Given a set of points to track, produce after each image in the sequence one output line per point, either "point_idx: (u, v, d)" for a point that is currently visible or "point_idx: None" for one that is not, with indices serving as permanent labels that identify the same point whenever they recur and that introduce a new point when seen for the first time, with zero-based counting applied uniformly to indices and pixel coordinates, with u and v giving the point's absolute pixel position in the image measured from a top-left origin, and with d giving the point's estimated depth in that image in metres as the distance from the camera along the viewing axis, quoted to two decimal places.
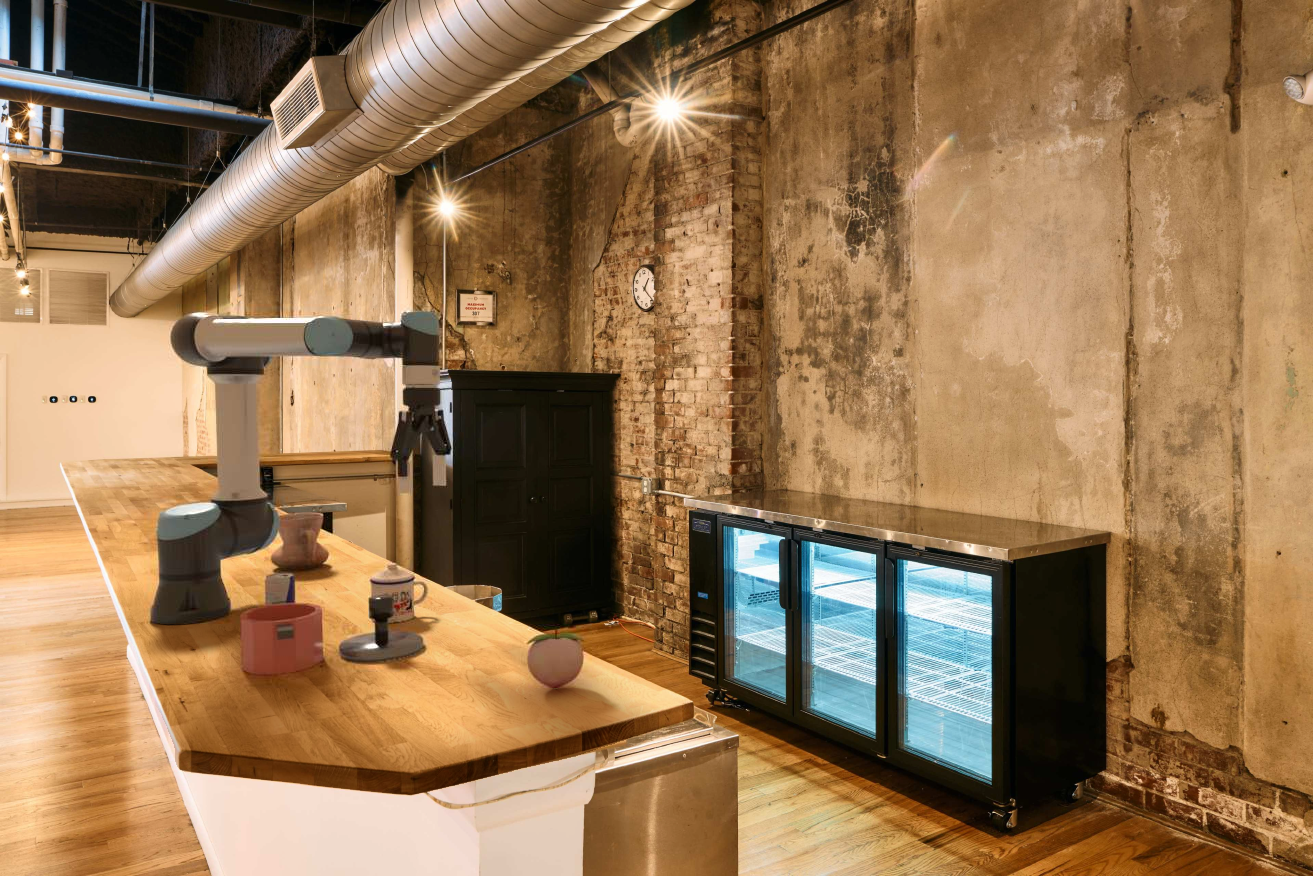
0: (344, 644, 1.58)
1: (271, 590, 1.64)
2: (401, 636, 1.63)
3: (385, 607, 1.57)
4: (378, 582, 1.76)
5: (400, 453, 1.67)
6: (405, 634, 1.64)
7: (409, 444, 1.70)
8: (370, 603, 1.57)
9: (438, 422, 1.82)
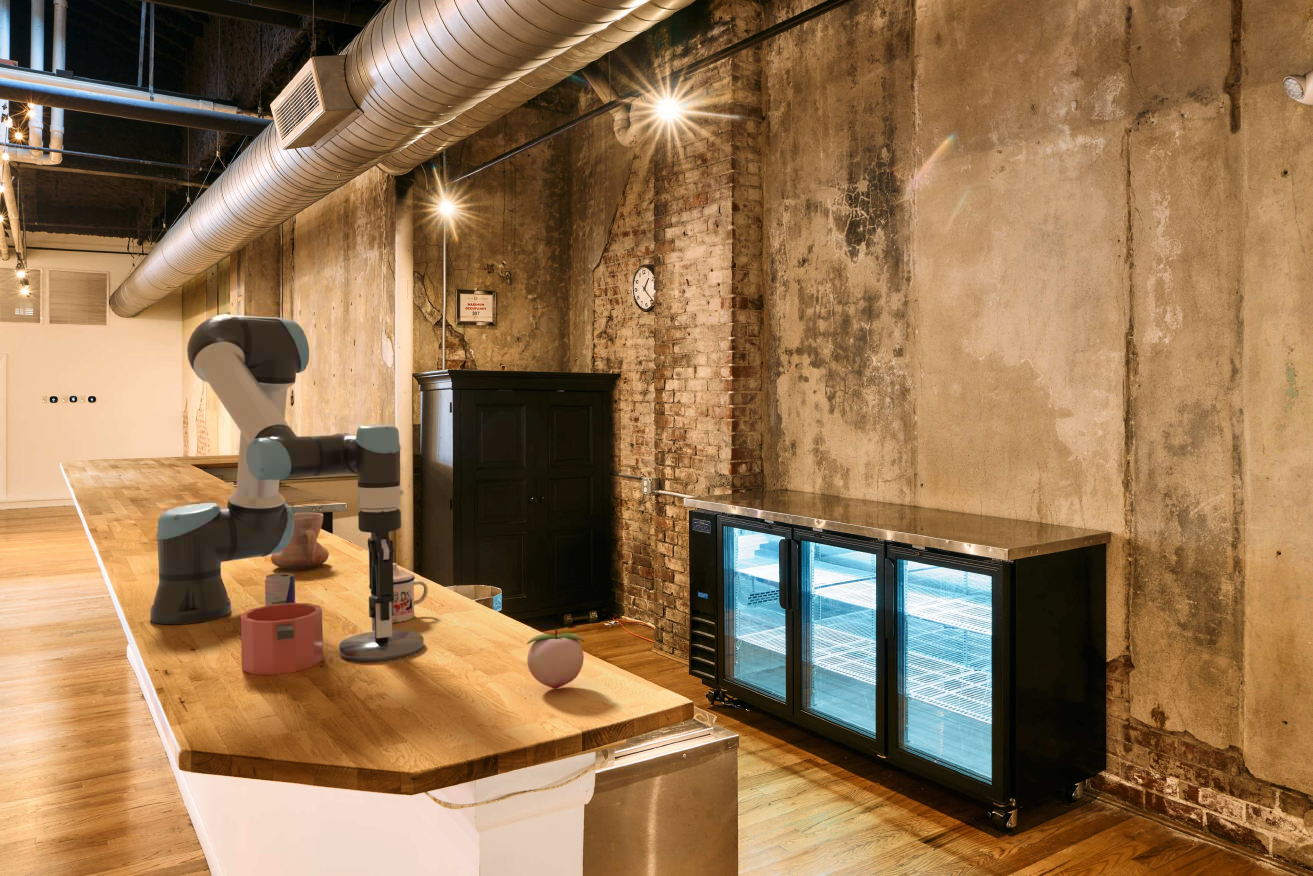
0: (344, 643, 1.58)
1: (271, 590, 1.64)
2: (401, 635, 1.63)
3: None
4: None
5: (392, 597, 1.53)
6: (405, 633, 1.64)
7: None
8: (370, 602, 1.57)
9: None
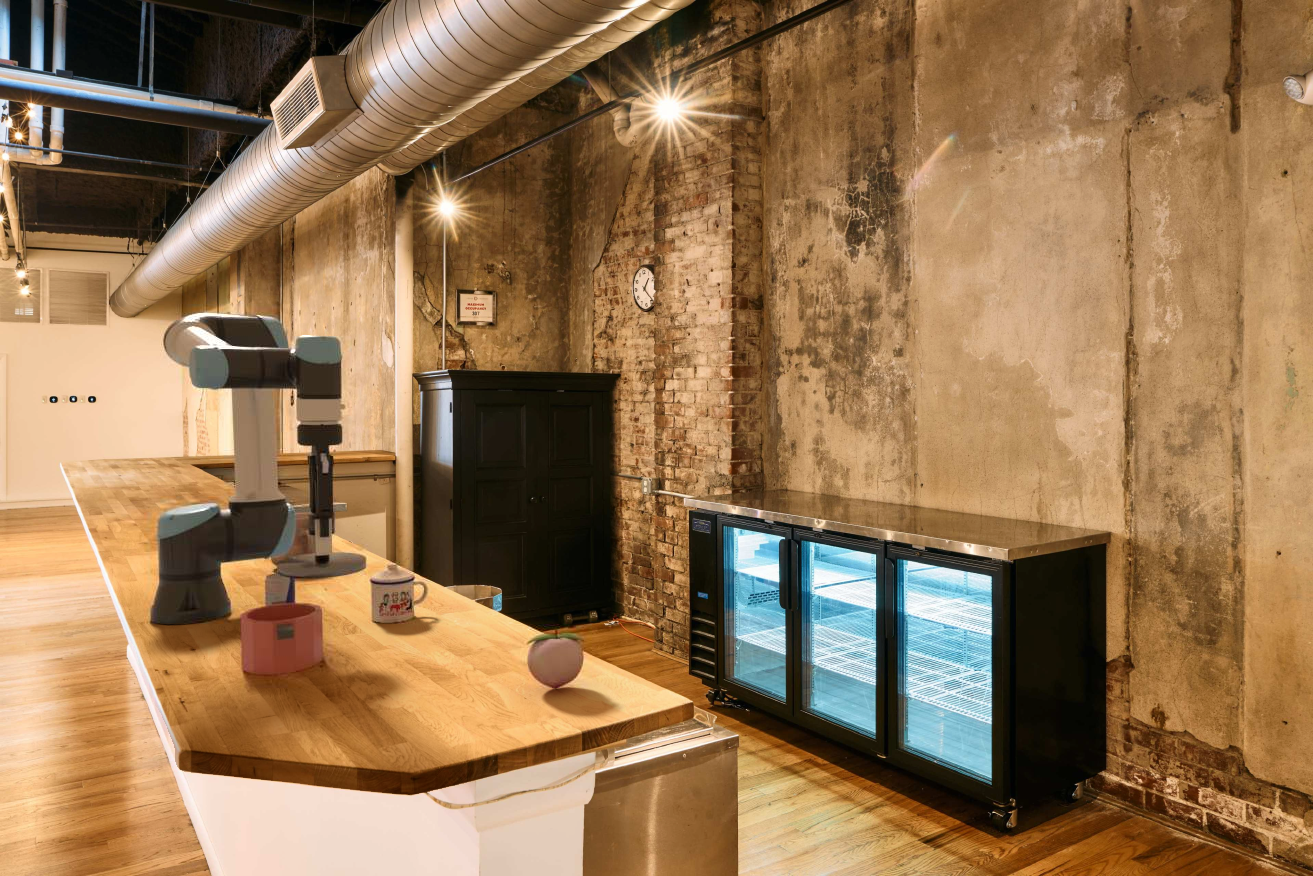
0: (282, 561, 1.52)
1: (271, 590, 1.64)
2: (343, 555, 1.58)
3: None
4: (378, 582, 1.76)
5: (332, 512, 1.48)
6: (347, 554, 1.59)
7: None
8: (310, 519, 1.51)
9: None
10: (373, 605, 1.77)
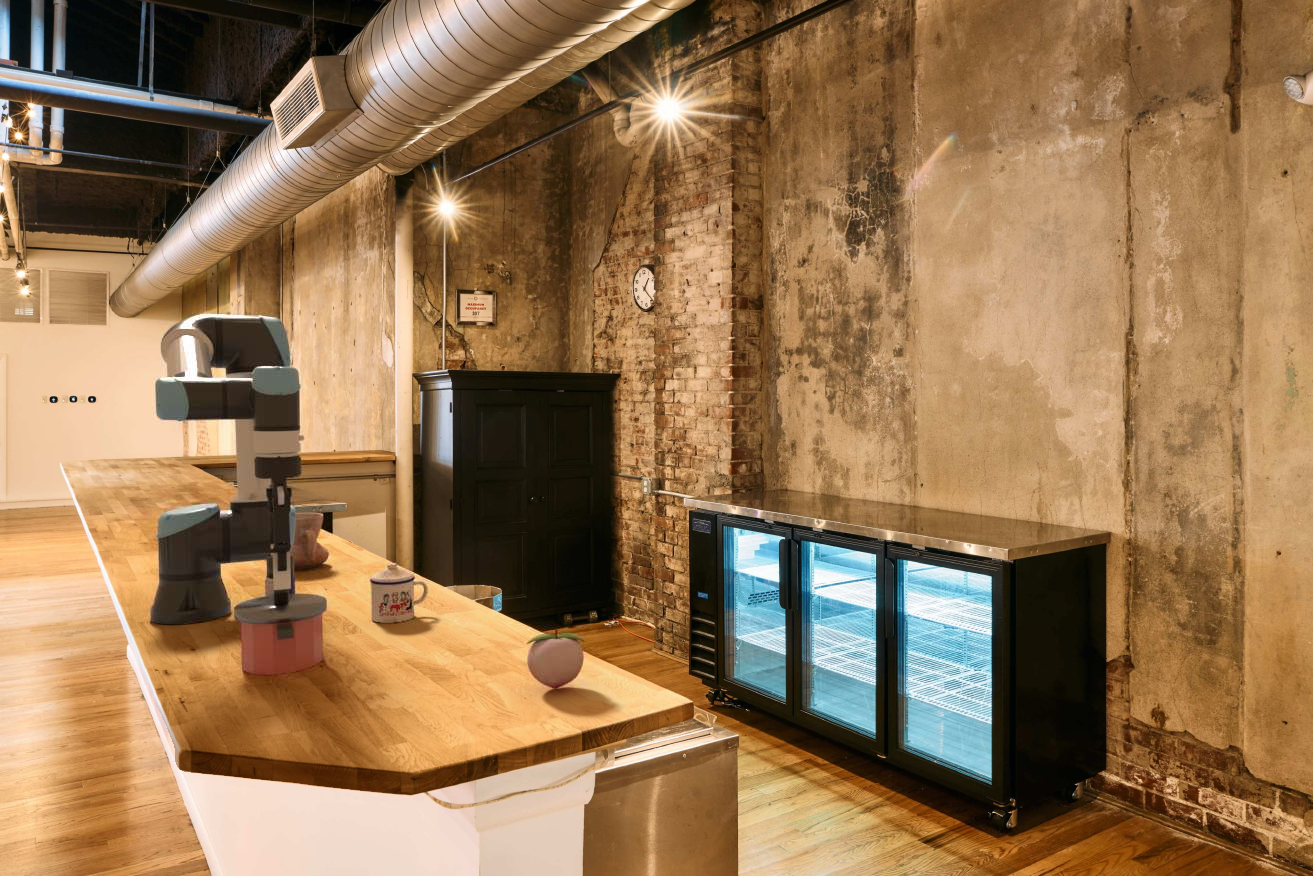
0: (241, 605, 1.50)
1: (271, 590, 1.64)
2: (304, 598, 1.55)
3: None
4: (378, 582, 1.76)
5: (288, 545, 1.44)
6: (309, 596, 1.56)
7: None
8: (267, 562, 1.49)
9: None
10: (373, 605, 1.77)
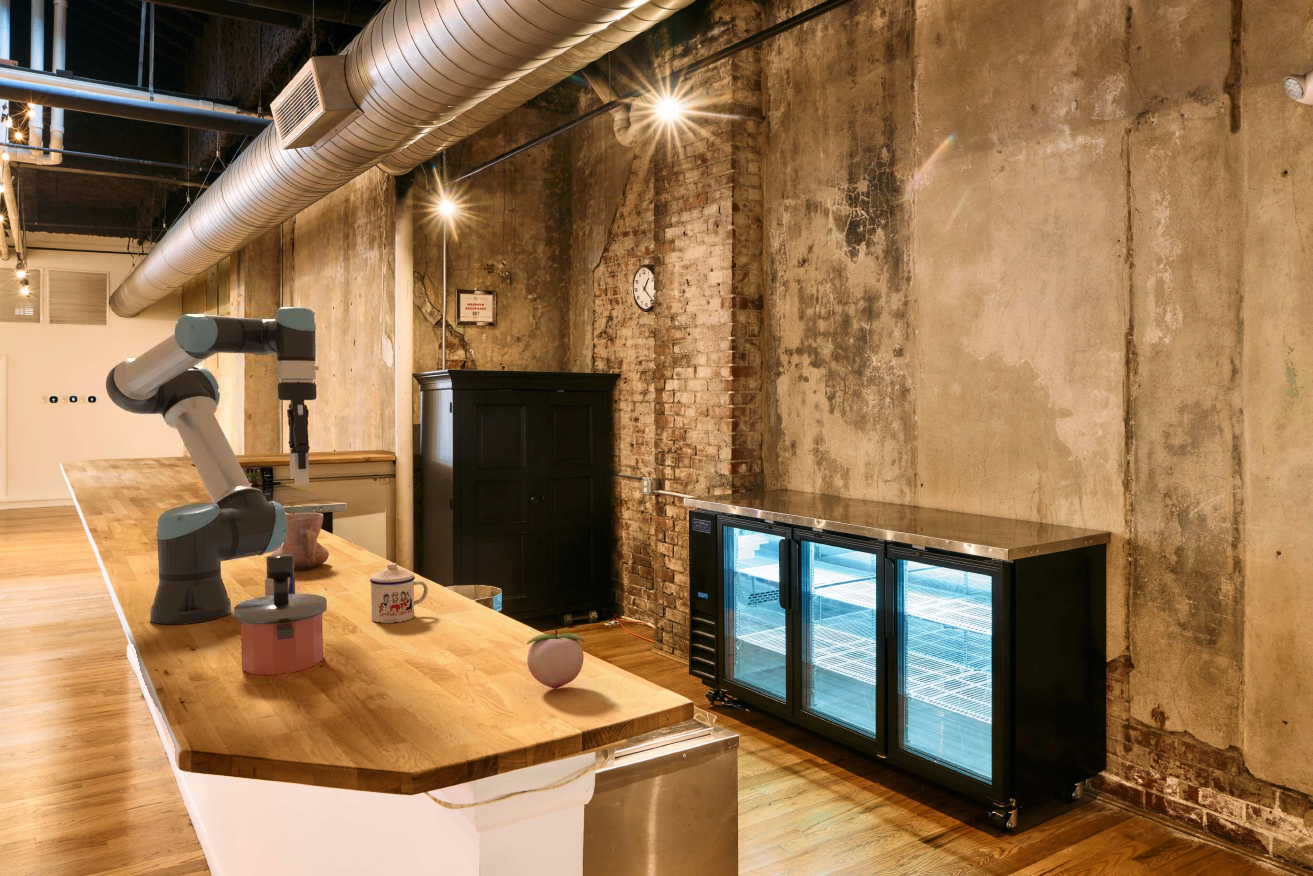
0: (241, 605, 1.50)
1: (271, 590, 1.64)
2: (304, 598, 1.55)
3: (284, 566, 1.49)
4: (378, 582, 1.76)
5: (307, 445, 1.72)
6: (309, 596, 1.56)
7: None
8: (267, 562, 1.49)
9: None
10: (373, 605, 1.77)
